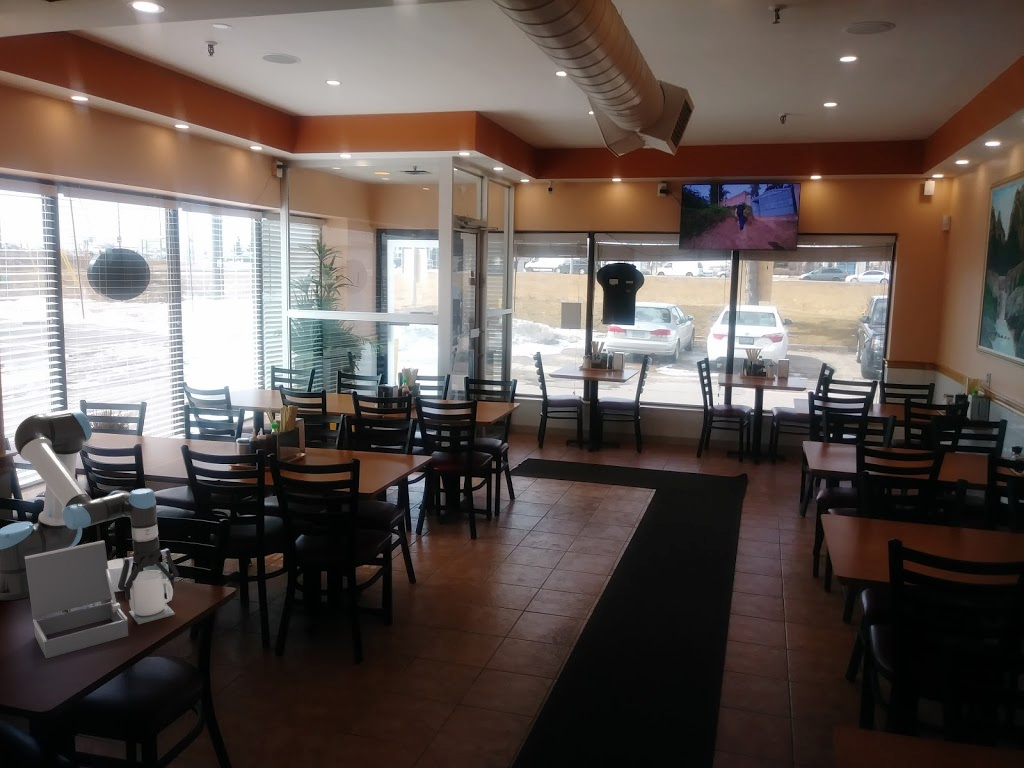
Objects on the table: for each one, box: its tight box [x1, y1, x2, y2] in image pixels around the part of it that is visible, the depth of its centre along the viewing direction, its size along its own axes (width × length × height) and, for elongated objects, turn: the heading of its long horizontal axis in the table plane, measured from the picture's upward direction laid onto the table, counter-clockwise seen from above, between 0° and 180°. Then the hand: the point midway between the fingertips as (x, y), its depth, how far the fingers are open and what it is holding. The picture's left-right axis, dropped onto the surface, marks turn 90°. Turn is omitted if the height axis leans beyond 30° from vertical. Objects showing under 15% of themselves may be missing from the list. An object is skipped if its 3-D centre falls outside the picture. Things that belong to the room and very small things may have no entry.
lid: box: [25, 540, 112, 619], centre depth 252 cm, size 19×22×1 cm
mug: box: [131, 570, 174, 616], centre depth 261 cm, size 10×12×12 cm
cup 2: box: [142, 562, 170, 595], centre depth 276 cm, size 8×8×10 cm
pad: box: [128, 603, 176, 625], centre depth 261 cm, size 11×11×1 cm
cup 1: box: [107, 558, 134, 593], centre depth 281 cm, size 10×10×9 cm
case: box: [32, 569, 129, 659], centre depth 245 cm, size 20×23×16 cm
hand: (150, 603), depth 261 cm, fingers closed on mug, 11 cm apart
